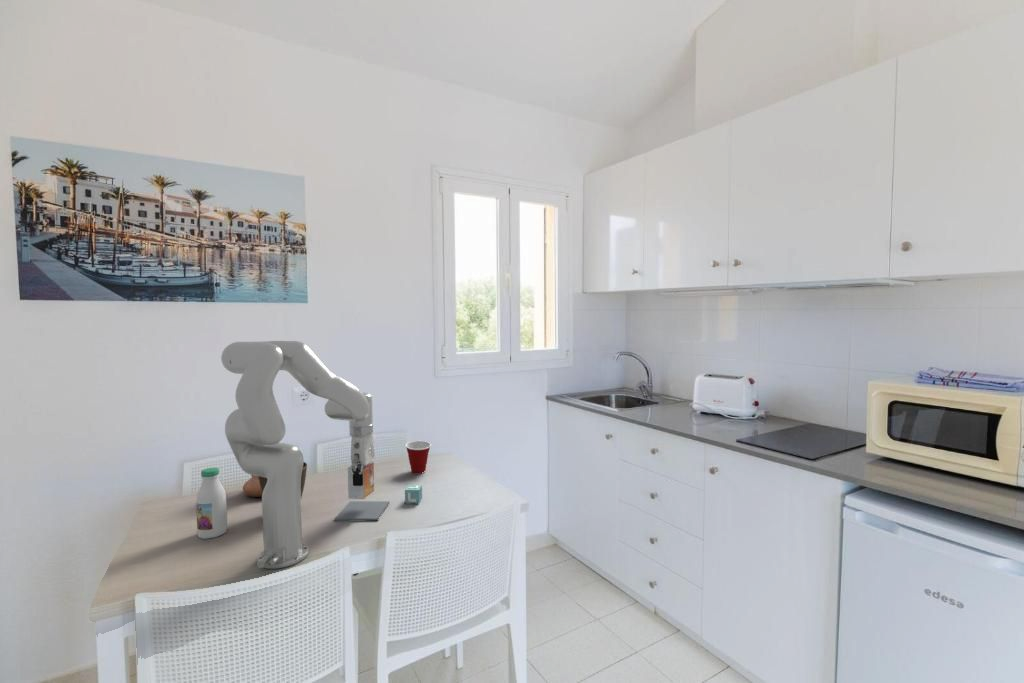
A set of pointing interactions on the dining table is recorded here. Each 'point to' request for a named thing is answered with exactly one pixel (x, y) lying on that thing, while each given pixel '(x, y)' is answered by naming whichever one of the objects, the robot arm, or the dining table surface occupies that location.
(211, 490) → the milk bottle
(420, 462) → the plastic cup
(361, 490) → the small box
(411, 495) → the lettered cube
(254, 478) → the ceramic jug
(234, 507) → the dining table surface
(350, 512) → the slate mat
